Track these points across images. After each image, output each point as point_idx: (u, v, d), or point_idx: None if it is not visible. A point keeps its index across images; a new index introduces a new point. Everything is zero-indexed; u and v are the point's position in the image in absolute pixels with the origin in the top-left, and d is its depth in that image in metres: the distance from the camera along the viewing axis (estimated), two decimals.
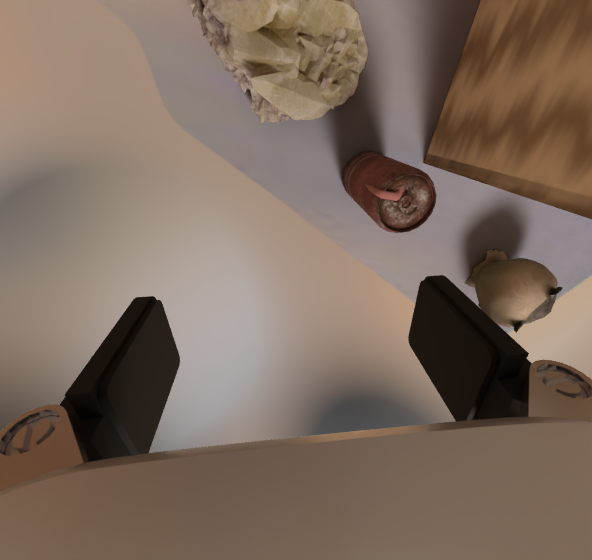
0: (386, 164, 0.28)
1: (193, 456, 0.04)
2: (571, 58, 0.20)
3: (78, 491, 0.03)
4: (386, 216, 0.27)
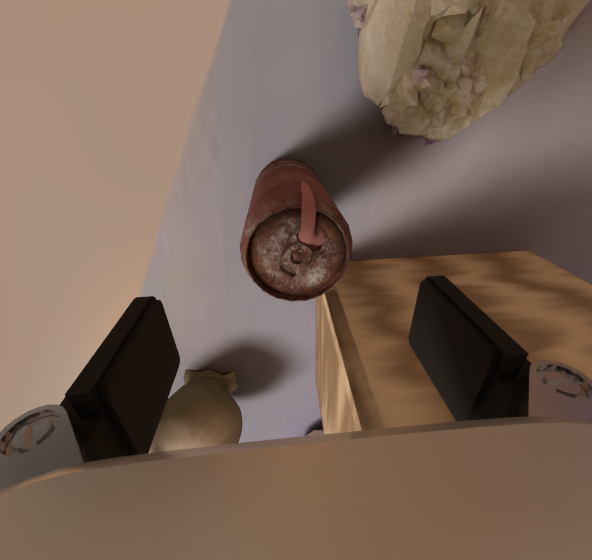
0: None
1: (193, 456, 0.04)
2: None
3: (77, 491, 0.03)
4: (268, 231, 0.14)
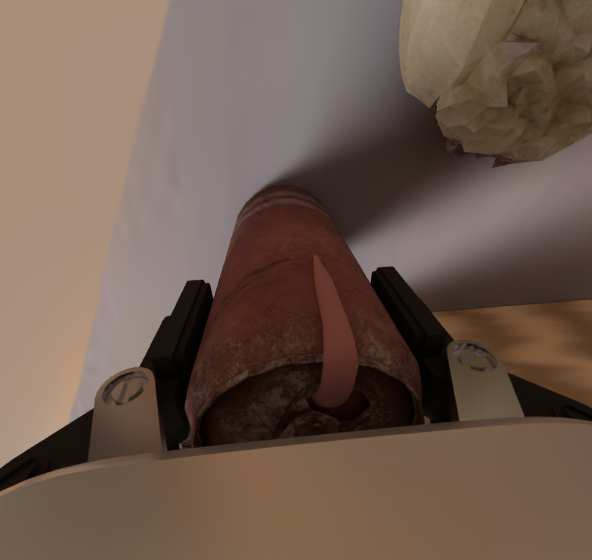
0: (375, 292, 0.10)
1: (193, 456, 0.04)
2: None
3: (78, 491, 0.03)
4: (244, 397, 0.06)
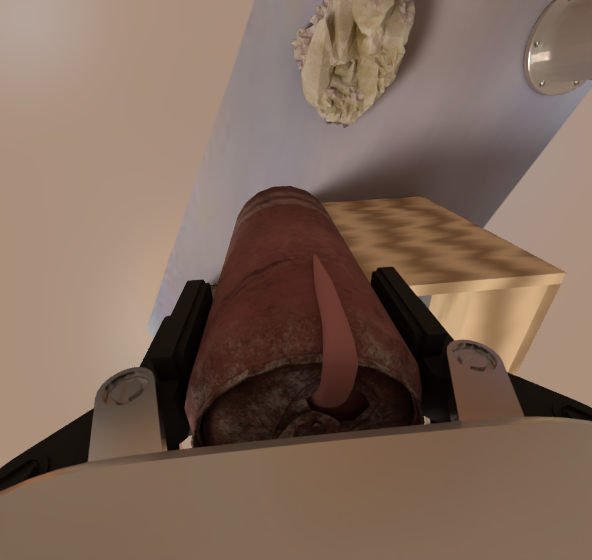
0: None
1: (193, 456, 0.04)
2: (369, 232, 0.37)
3: (78, 491, 0.03)
4: (243, 397, 0.06)
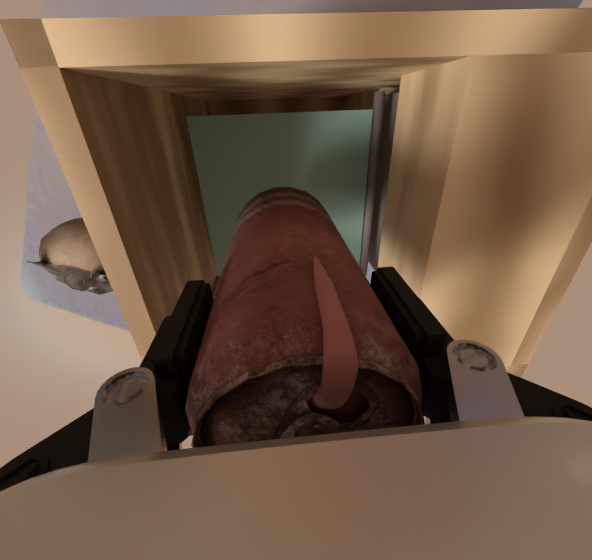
0: None
1: (193, 456, 0.04)
2: None
3: (77, 491, 0.03)
4: (244, 399, 0.06)
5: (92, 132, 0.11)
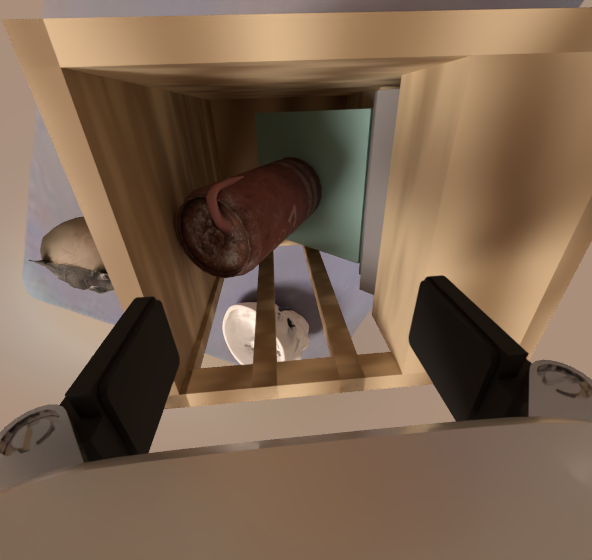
0: (276, 202, 0.19)
1: (193, 456, 0.04)
2: None
3: (78, 491, 0.03)
4: (191, 213, 0.18)
5: (94, 132, 0.11)
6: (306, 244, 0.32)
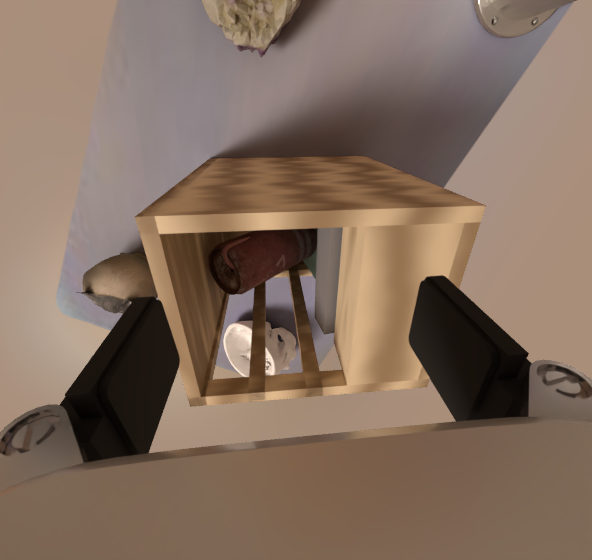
0: (266, 254, 0.32)
1: (193, 456, 0.04)
2: (275, 175, 0.30)
3: (78, 491, 0.03)
4: (216, 256, 0.32)
5: (168, 256, 0.20)
6: (313, 274, 0.44)
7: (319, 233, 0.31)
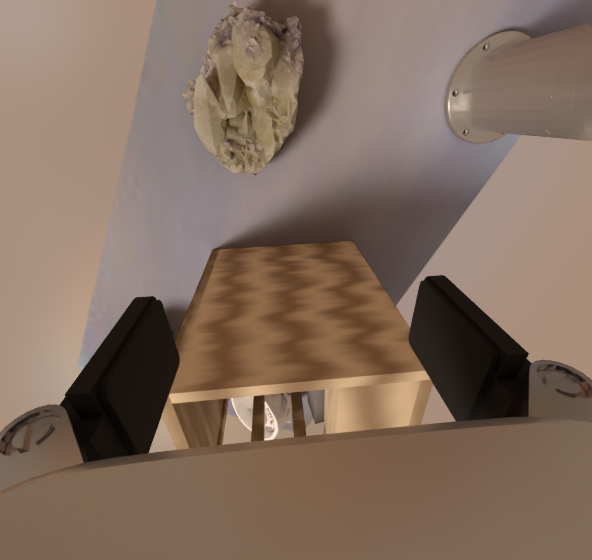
0: None
1: (193, 456, 0.04)
2: (268, 296, 0.35)
3: (78, 491, 0.03)
4: None
5: (179, 410, 0.25)
6: None
7: None
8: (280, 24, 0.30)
